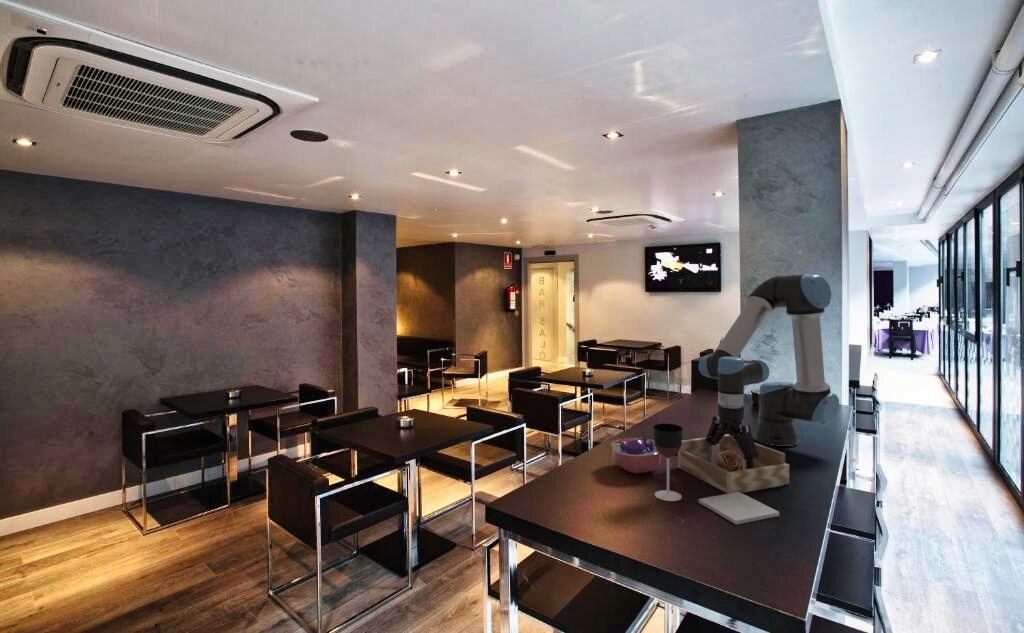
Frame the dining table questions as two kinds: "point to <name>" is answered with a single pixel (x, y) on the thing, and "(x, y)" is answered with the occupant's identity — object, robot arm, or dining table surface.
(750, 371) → the robot arm
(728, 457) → the flower
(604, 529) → the dining table surface
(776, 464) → the frame
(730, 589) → the dining table surface
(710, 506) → the tile
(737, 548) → the dining table surface
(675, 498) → the wineglass
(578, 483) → the dining table surface
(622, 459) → the cell model
